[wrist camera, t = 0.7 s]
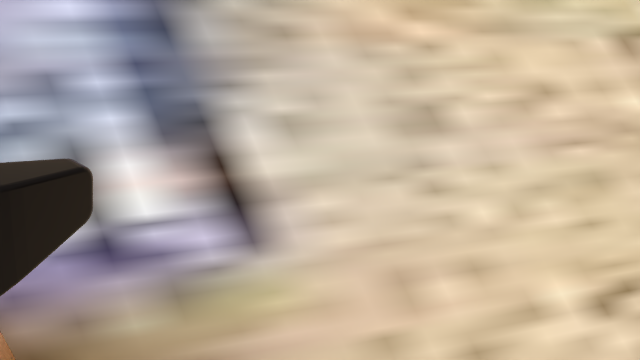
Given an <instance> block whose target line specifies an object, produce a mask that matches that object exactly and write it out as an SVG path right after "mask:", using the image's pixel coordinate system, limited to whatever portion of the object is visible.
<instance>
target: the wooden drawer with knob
mask: <svg viewBox="0 0 640 360" xmlns="http://www.w3.org/2000/svg"><path fill="white" fill-rule="evenodd" d="M0 360H15V358H14V356H13V354H12V352H11V350H10V349H9V347H8V345H7V343H6V341H5V339H4V337H3V335H2V334H1V332H0Z"/></svg>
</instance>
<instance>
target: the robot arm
mask: <svg viewBox="0 0 640 360" xmlns="http://www.w3.org/2000/svg"><path fill="white" fill-rule="evenodd" d="M92 211H93V176H92V173H91V171H90V170H89V169H88V168H87V167H85V166H84V165H82V164H80V163H78V162H77V161H75V160H72V159H52V160H37V161H22V162H6V163H0V296H1V295H3V294H4V293H5V292H7V291H8V290H9V289H11V288H12V287H13V286H14V285H16V284H17V283H18V282H19V281H21V280H22V279H23V278H24V277H25V276H26V275H28V274H29V273H30V272H31V271H32V270H33V269H34V268H36V267H37V266H38V265H39V264H40V263H41V262H42V261H43V260H45V259H46V258H47V257H48V256H49V255H50V254H51V253H52V252H54V251H55V250H56V249H57V248H58V247H59V246H60V245H61V244H63V243H64V242H65V241H66V240H67V239H68V238H69V237H70V236H72V235H73V234H74V233H75V232H76V231H77V230H78V229H79V228H80V227H82V226H83V225H84V224H85V223H86V222H87V221H88V219H89V218H90V216H91V214H92Z"/></svg>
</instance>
